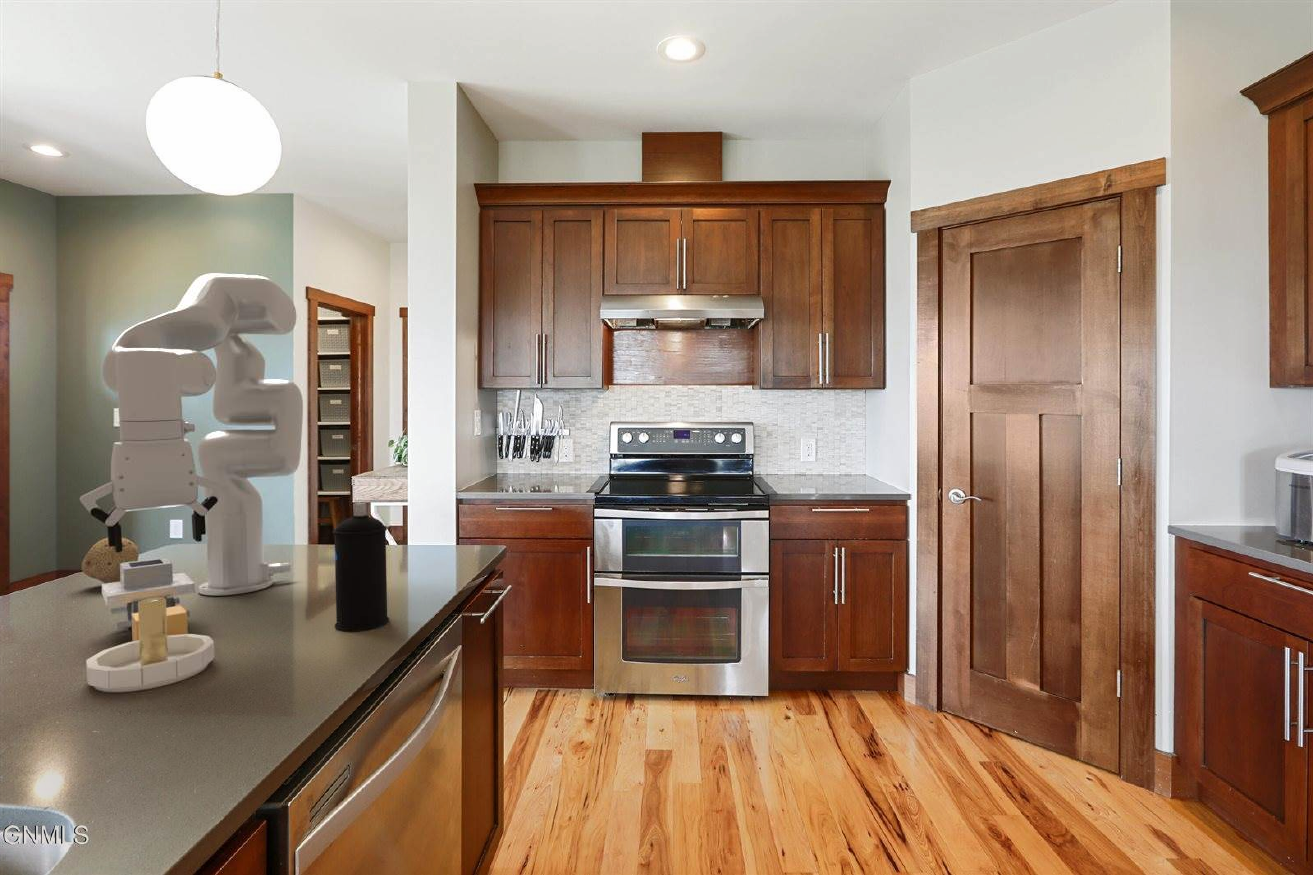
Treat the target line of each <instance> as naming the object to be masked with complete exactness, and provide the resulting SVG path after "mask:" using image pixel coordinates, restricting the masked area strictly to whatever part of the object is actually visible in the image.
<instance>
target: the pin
mask: <svg viewBox="0 0 1313 875" xmlns="http://www.w3.org/2000/svg"><path fill="white" fill-rule="evenodd" d="M138 617H139V645H140V666H144V665H148V664H153V663H158V662H163V661H168V643H167V614H166V598H161V597H160V598H150V599H145V600H141V601H139V602H138Z"/></svg>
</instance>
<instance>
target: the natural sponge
mask: <svg viewBox="0 0 1313 875" xmlns="http://www.w3.org/2000/svg"><path fill="white" fill-rule="evenodd" d="M139 556H140V552H139V548H138V545H136V544H135V543H134V542H132V540H130V539H128V538H125V537H122V551H121V552H119V553H116V551H115V549H114V546H112V547H109V545H108V537H105V538H103V539H101V540H98V541H96V543H95V544H93V545H92V546H91V548H90V549H89V551H87V553H86V555H85V556H84V558H83V560H82V561H81V570H82V572H83V574H84V575H85V576H87V577H89V578H92V579H95V580H98V581H100V582H102V584H106V583H113V582H120V581H121V578H120V563H125V562H134V561H139Z"/></svg>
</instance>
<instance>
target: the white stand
mask: <svg viewBox="0 0 1313 875" xmlns="http://www.w3.org/2000/svg"><path fill="white" fill-rule="evenodd" d="M120 578H121V581H120V582H113V583H106V584H105V583H102V584H101V594H102V597H103V599H104V602H105V606H106V607H110V606H111V607H112V606H117V605H118V606H117V607H113V608H110V615H111V616H113V615H117V614H119V615H120V614H124V613H125V621H118V622H116V630H122V629H127V628H128V629H129V628H132V614H133V613H138V602H139V601H141V600H145V599H150V598H160V597H161V598H166V608H168V607H174V606H177V605H179V604H180V601H181V600H180V597H176V598H174V596H182V595H187V594H192V593H193V594H194V593H196V583H195V581H193V580H192V579H191V577H189V576H188V575H187V573H185V572H180V573H173V562H172V561H171V560H169V558H168V557H159V558H151V559H142V560H138V561H134V562H125V563H120ZM119 605H124V606H120V607H119ZM185 611H186V612H187V618H189V617H190V616H191V615H190V614H191V613H190V609H189V610H185Z"/></svg>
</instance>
